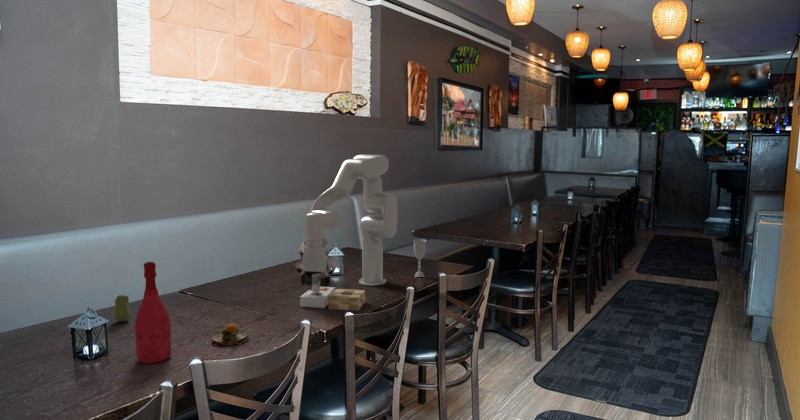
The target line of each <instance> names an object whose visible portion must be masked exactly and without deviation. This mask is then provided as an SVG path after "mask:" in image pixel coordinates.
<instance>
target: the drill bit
mask: <svg viewBox="0 0 800 420" xmlns="http://www.w3.org/2000/svg"><path fill="white" fill-rule="evenodd" d="M320 277H321V274H320V273H318V274H312V282H311V290H312V295H314V296H320V287H321V280H320Z"/></svg>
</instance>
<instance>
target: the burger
mask: <svg viewBox="0 0 800 420" xmlns="http://www.w3.org/2000/svg"><path fill="white" fill-rule="evenodd" d="M236 322H237V321H235V323H228V324H227V325H226V327H225V328H224V330H222V331H219V332H216V333H215V334H213V335H212V336H211V339H210V340H211V341H213V343H214V345H215V344H216V345H219V346H218V347H220V346H221V344H222V346H224V345H231V346H234V345H237V344H239V345H241V344H243V342H244V341H245V340H246V339H247V337H248V335H249V333H248V332H247V331H244V330H241V329H240V328H239V326H238V325H237V324H236ZM221 336H222V337H221ZM240 343H241V344H240ZM244 343H245V342H244ZM216 345H215V346H216Z"/></svg>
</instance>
